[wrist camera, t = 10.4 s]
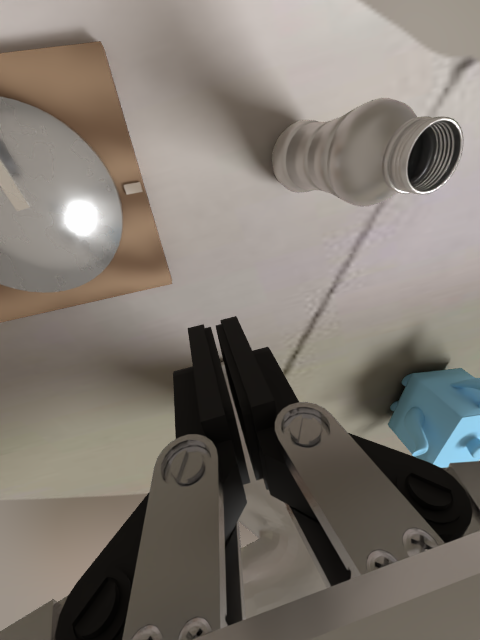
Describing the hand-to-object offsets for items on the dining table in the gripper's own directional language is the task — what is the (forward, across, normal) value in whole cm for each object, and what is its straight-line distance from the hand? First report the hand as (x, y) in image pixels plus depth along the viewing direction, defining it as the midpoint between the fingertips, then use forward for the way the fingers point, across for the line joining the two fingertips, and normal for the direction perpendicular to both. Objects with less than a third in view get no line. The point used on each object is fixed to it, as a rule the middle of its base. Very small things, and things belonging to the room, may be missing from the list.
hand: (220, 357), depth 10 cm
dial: (+25, +14, -4) cm, 29 cm away
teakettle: (+27, -39, +44) cm, 65 cm away
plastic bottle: (+27, -14, -4) cm, 31 cm away
